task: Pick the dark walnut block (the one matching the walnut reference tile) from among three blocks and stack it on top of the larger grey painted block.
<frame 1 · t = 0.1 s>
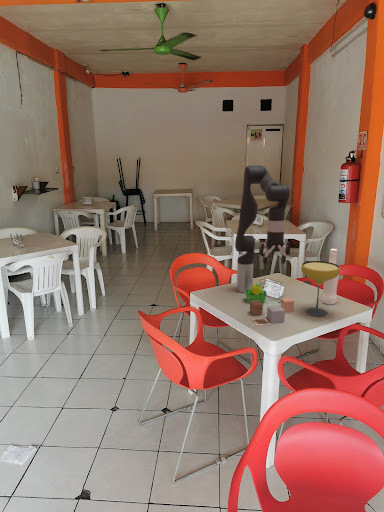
hand: (274, 264, 181), 29 cm above the table, fingers open, 8 cm apart
terracotta block: (286, 310, 201), on the table
fruit basket: (255, 301, 214), on the table
cocktail glass: (316, 312, 199), on the table
grey block: (275, 319, 190), on the table
walnut block: (255, 313, 198), on the table
reference tile: (261, 322, 187), on the table
bottle: (328, 302, 212), on the table
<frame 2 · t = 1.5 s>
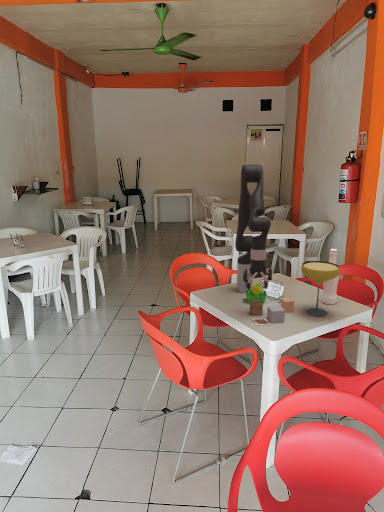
hand: (257, 289, 194), 13 cm above the table, fingers open, 8 cm apart
nothing on the table moved.
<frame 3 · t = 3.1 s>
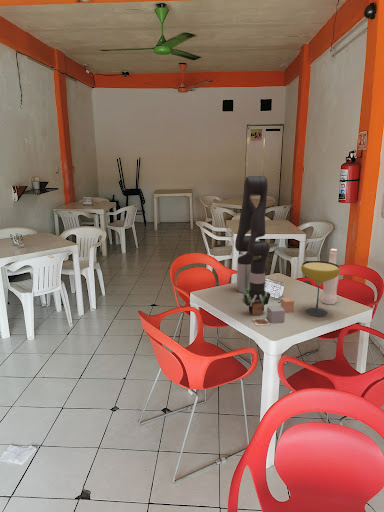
hand: (256, 312, 198), 1 cm above the table, fingers closed on walnut block, 5 cm apart
walnut block: (256, 313, 198), on the table, touching gripper
everything else where it was.
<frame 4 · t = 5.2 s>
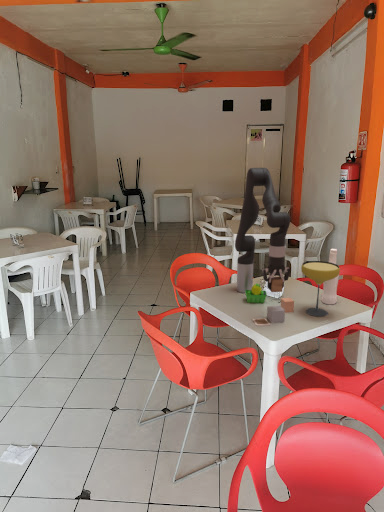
hand: (275, 288, 186), 16 cm above the table, fingers closed on walnut block, 5 cm apart
walnut block: (275, 290, 186), point 15 cm above the table, touching gripper
everything else where it was.
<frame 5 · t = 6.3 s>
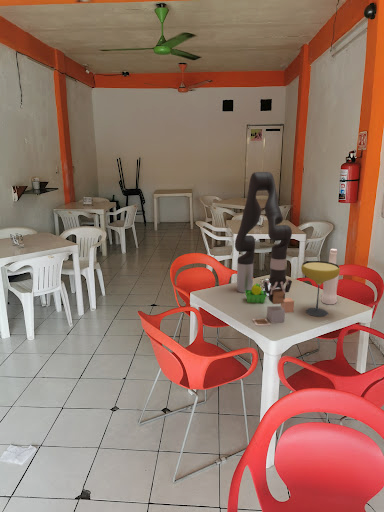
hand: (276, 300, 188), 10 cm above the table, fingers closed on walnut block, 5 cm apart
walnut block: (276, 301, 188), point 9 cm above the table, touching gripper
everything else where it was.
when the fingers open (8 cm above the table, at t = 7.1 s): walnut block drops 1 cm, resting on grey block.
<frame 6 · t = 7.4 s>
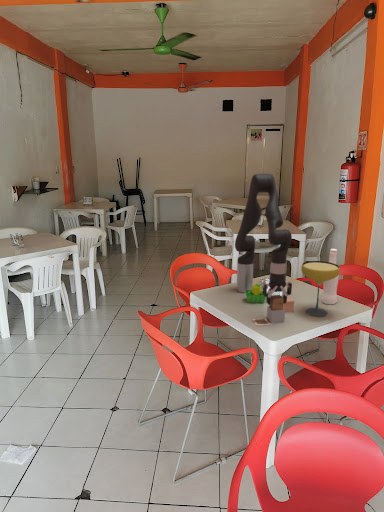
hand: (276, 303, 188), 8 cm above the table, fingers open, 7 cm apart
grey block: (275, 319, 190), on the table, touching walnut block
walnut block: (275, 308, 189), point 6 cm above the table, touching grey block
everything else where it was.
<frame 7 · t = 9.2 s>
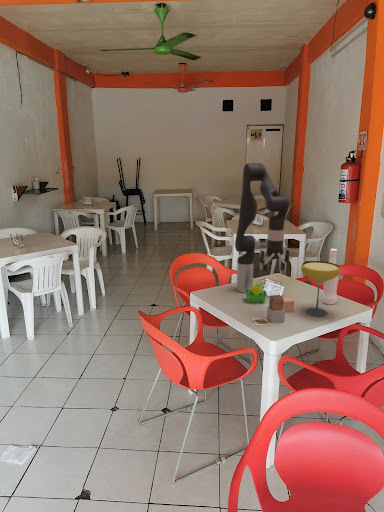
hand: (273, 270, 189), 24 cm above the table, fingers open, 8 cm apart
nothing on the table moved.
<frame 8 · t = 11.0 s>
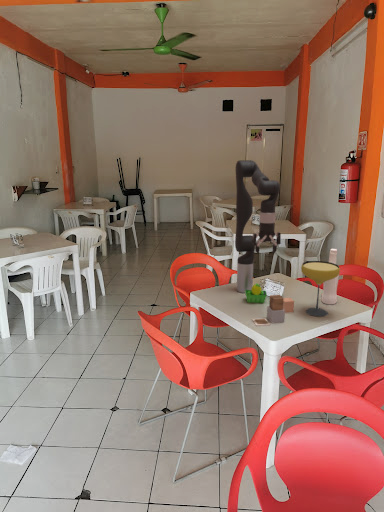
hand: (265, 252, 197), 30 cm above the table, fingers open, 8 cm apart
nothing on the table moved.
at the end: walnut block 0.0 cm off-centre on the grey block, point 6.0 cm above the grey block's base; walnut block tilted 0°; the gripper is holding nothing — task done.
